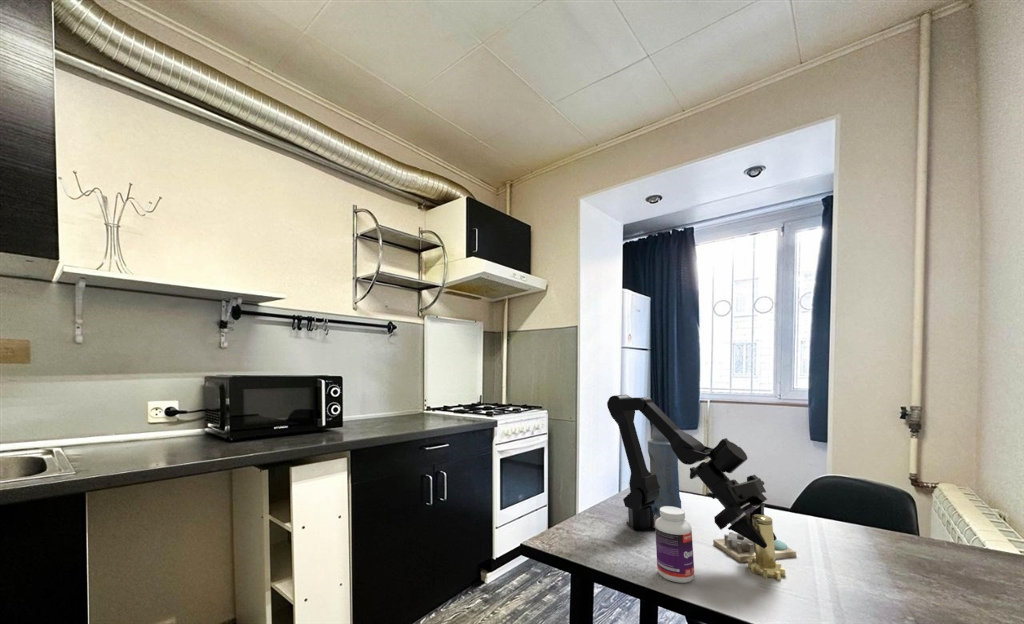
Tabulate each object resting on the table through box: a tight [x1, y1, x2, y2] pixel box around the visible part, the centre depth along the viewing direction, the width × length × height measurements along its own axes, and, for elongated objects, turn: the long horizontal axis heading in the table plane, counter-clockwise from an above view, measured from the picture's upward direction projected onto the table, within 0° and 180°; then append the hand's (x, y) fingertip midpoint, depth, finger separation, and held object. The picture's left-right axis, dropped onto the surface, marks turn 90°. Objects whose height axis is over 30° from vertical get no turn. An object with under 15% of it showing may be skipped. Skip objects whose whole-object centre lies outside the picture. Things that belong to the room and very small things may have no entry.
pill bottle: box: [654, 506, 695, 584], centre depth 94 cm, size 8×8×14 cm
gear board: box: [712, 531, 797, 563], centre depth 105 cm, size 17×10×4 cm, turn 99°
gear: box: [747, 514, 786, 581], centre depth 95 cm, size 7×7×12 cm
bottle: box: [647, 424, 682, 516], centre depth 134 cm, size 10×10×30 cm
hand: (770, 543), depth 94 cm, fingers open, 6 cm apart
